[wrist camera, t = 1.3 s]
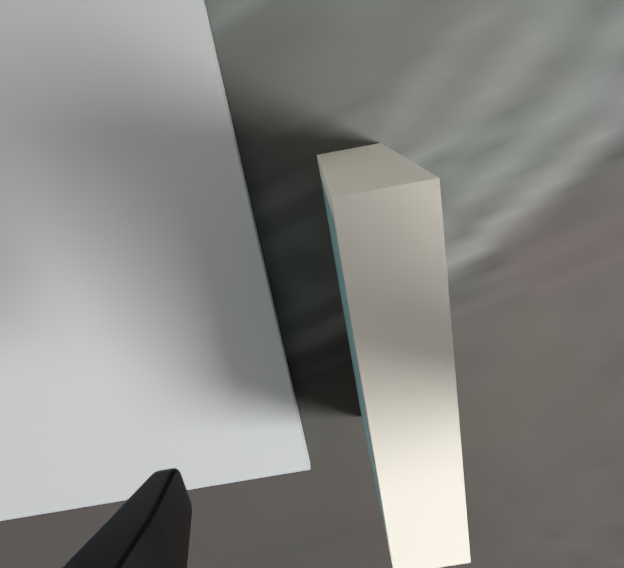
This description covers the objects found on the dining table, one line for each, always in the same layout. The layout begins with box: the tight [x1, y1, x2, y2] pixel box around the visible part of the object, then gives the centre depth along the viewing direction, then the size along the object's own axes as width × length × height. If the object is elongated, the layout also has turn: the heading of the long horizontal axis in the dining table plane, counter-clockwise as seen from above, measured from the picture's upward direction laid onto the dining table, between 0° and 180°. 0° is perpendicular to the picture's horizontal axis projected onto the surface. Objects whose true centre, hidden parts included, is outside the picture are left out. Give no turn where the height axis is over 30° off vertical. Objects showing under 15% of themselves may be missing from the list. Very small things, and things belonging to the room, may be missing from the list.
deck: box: [317, 143, 471, 568], centre depth 12 cm, size 9×2×6 cm, turn 11°
